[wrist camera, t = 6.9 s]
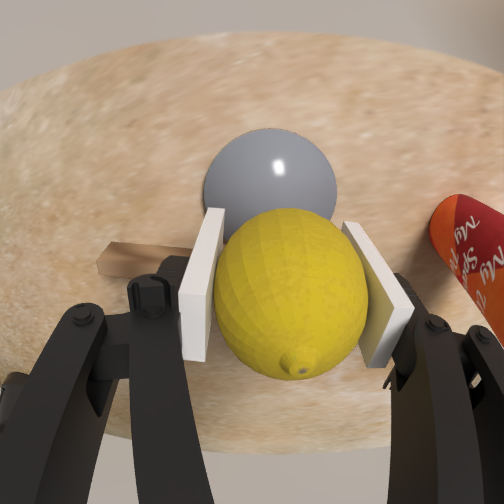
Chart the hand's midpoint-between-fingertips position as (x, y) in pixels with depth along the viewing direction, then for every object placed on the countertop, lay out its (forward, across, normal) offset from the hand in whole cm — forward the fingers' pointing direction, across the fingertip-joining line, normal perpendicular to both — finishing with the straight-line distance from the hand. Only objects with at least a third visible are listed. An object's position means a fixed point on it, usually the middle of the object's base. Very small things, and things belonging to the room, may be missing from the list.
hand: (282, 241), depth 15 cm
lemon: (+1, 0, 0) cm, 1 cm away
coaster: (+8, 0, 0) cm, 8 cm away
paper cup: (+8, -16, +1) cm, 18 cm away
